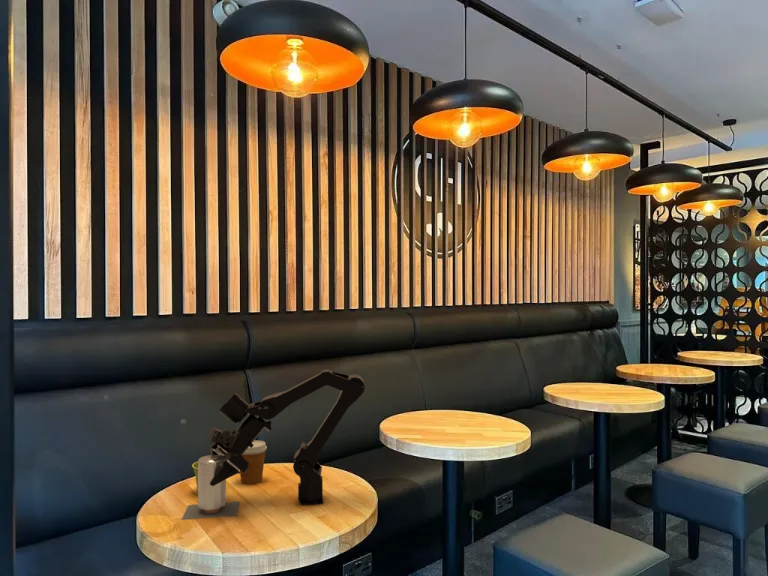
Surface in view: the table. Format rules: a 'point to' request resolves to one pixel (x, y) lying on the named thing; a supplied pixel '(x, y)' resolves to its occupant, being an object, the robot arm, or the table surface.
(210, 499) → the brushed metal canister
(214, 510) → the pink squat rounded piece
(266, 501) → the table surface
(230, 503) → the charcoal mat
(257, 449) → the disposable coffee cup
